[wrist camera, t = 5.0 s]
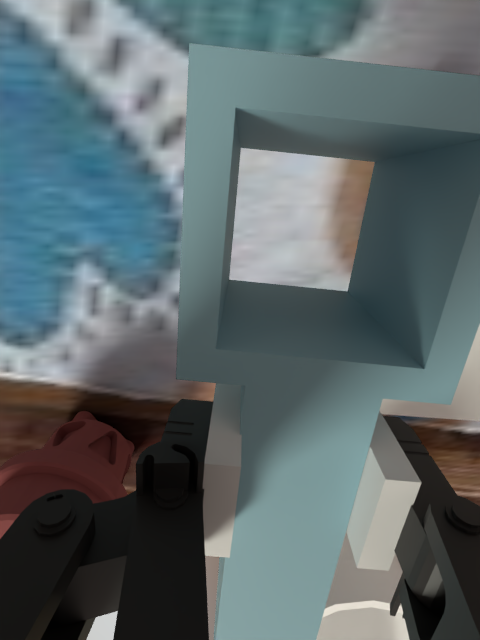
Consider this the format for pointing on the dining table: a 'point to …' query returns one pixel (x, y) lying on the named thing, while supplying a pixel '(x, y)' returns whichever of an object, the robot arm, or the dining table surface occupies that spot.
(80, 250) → the dining table surface
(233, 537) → the link
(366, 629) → the foam cup
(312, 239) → the dining table surface
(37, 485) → the mechanical component
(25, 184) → the dining table surface
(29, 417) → the dining table surface
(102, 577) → the robot arm
